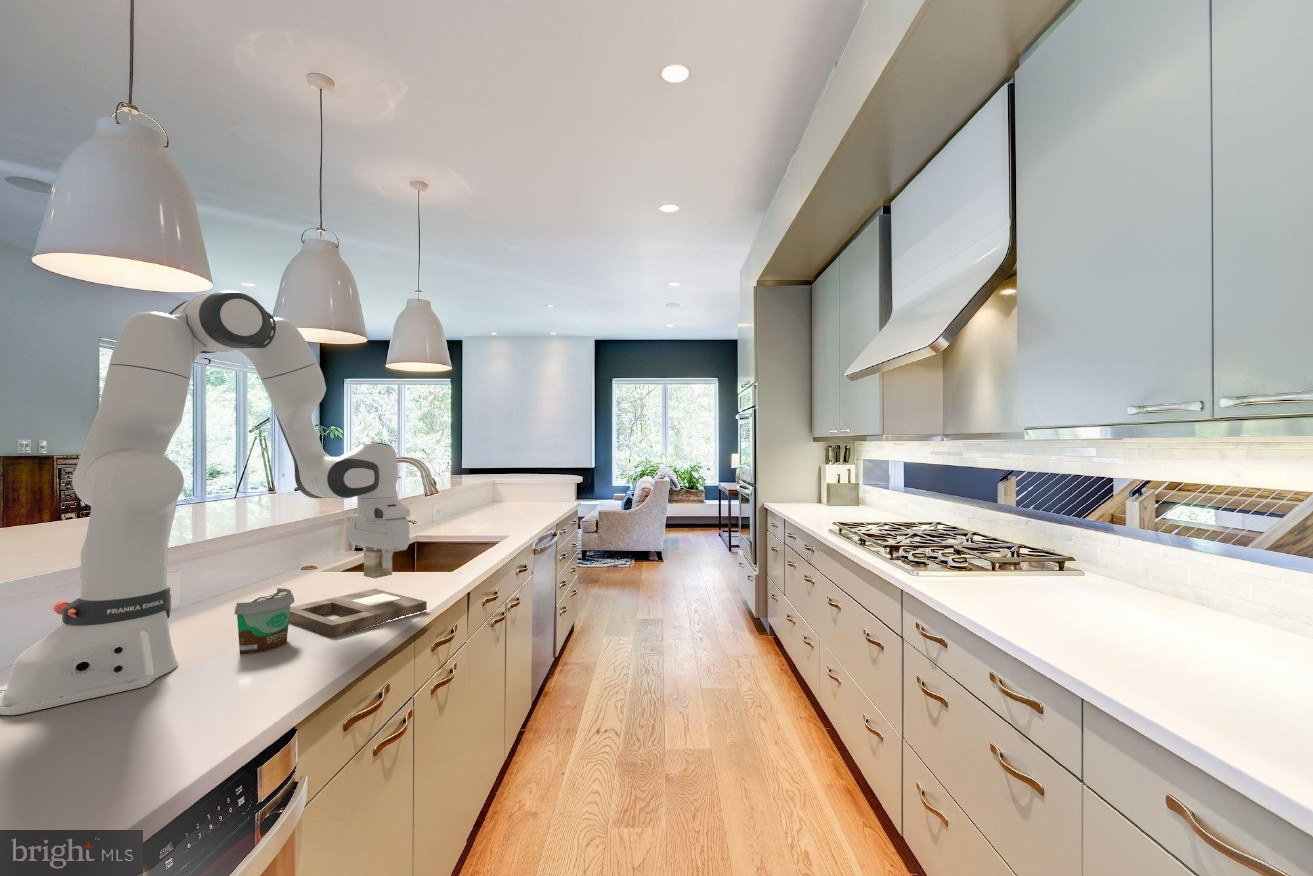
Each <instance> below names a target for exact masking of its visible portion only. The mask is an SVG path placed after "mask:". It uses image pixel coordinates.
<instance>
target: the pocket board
mask: <svg viewBox="0 0 1313 876" xmlns="http://www.w3.org/2000/svg"><path fill="white" fill-rule="evenodd" d="M427 604H428V603H427V600H422V599H418V598H414V597H412V596H406V595H402V594H398V593H394V592H393V593H392V592H390V591H386V590H383V589H379V588H372V589H367V590H364V591H363V590H362V591H358V592H353V593H349V594H344V595H339V596H335V597H330V598H324V599H322V600H321V599H320V600H316V601H312V602H307V603H302V604H298V605H293V606H290V614H289V623H291V624H294V625H296V626H298V627H302V628H305V629H307V630H311V631H312V632H316V633H319V634H321V635H323V636H324V635H325V636H327V637H330V638H336V637H340V636H342V635H343V636H344V635H347V634H350V632H351V633H353V632H352V631H354V632H358V631H361V630H360V629H362V630H365V629H367V628H366V627H369V628H371V627H370V626H373V625H376V626H378V625H377V624H380V625H382V624H381V623H383V622H386V621H388V620H393V619H395V618H399V617H401V616H406V615H409V614H414V613H417V612H422V611H424V610H427V609H428V607H427ZM328 614H333V615H334V614H335V615H338V616H340V617H337V618H334V619H331V618H328V617H325V616H324V615H328ZM343 616H344V617H343ZM373 627H374V626H373ZM364 628H365V629H364ZM346 633H347V634H346ZM339 635H340V636H339Z"/></svg>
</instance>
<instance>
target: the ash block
mask: <svg viewBox="0 0 1313 876" xmlns="http://www.w3.org/2000/svg"><path fill="white" fill-rule="evenodd" d="M382 557H383V554H382V549H377V548H374V549H373V550H368V551H364V552H363V577H365V578H371V579H379V578H383V577H387V576H393V556H392V557H391V559H390V567H388V568H381V567H380V560H382Z"/></svg>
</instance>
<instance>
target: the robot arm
mask: <svg viewBox="0 0 1313 876" xmlns="http://www.w3.org/2000/svg"><path fill="white" fill-rule="evenodd" d="M233 351H239V352H240V353H242V354H244V355H245V356H246V358H247V359H249V360H250V362H251V363H252V364H253V365H254V368H255V371H256V372H257V376H259V379H260V381H261V383H262V385H263V388H264V389H265V391H266V393H267V395H268V397H269V399H270V401H271V404H272V406H273V410H274V413H275V417H276V420H277V422H278V425H279V428H280V431H281V432H282V435H283V437H284V440H285V442H286V445H287V447H288V450H289V452H290V454H291V457H292V461H293V464H294V465H293V466H294V481H295V483H296V484H295V485H296V487H297V488H298V490H299V492H301V494H303V495H305V496H306V497H308V498H311V499H328V498H329V499H341V500H342V499H344V500H345V499H352V498H354V497H357V504H356V509H354V511H353V515H352V516H351V517H350V521H349V531H348V532H349V533H348V540H349V543H350V544H351V545H355V546H361V547H362V551H363V553H364V551H368V550H374V549H382V554H383V557H382V560H380V567H381V568H388V567H390V559H391V557H392V558H393V554H394V552H400V551H406V550H407V549H408V547H409V546H410V523H409V519H408V518H409V517H410V516H411V510H410V509H411V508H409V507H408V506H406V505H404V504H403V503H402V502H401V501H399V496H398V495H399V494H398V491H397V484H398V483H397V482H398V479H399V477H398V475H399V474H398V473H399V469H398V467H399V466H398V458H397V453H396V452H397V451H396V450H395V447H393V446H392V445H391V444H388V443H383V442H375V441H363V442H361V443H360V445H358V446H357V447H356V448H353V449H352V450H351V451H348V452H346V453H344V454H341V455H340V456H331V455H329V454H328V453H327V452H326V451H325V450H324V449H323V447H322V444H321V441H320V438H319V436H318V434H317V431H316V428H315V425H314V424H313V418H312V417H313V413H314V411H315V408H316V407H317V406H318V405H319V404H320V403H321V402H322V400H323V399H324V397H325V394H326V391H327V385H326V380H325V377H324V373H323V372H322V369H321V367H320V365H319V363H318V361H317V359H316V357H315V355H314V354H315V353H313V351H312V349H311V347H310V346H309V344H308V342H307V340H306V339H305V338H304V336H303V334H302V333H301V332H300V330H299V329H298V328H297V326H296V325H295V324H294V323H293V322H291V321H290V320H288V319H287V318H282V317H274V316H273V315H272V314H271V313H269V312H268V311H267V310H266V309H265V308H264V307H263V306H262V304H261V303H260V302H259V301H257V299H255V298H253V297H252V296H250V295H249V294H247V293H244V292H240V291H235V290H220V291H216V292H213V293H204V294H200V295H198V296H195V297H192V298H191V299H189V300H186V301H184V302H182V303H180V304H179V305H177V306H176V307H175V308H173V309H172V310H171V311H170V312H169V313H164V312H160V311H142V312H137V313H135V314H133V315H131V316H130V317H129V318H127V320H126V322H125V323H124V325H123V327H122V328H121V330H120V333H119V335H118V337H117V339H116V342H115V344H114V348H113V349H112V354H111V355H110V356H111V357H110V360H109V363H108V368H107V371H106V376H105V380H104V384H103V387H102V393H101V396H100V397H101V398H100V401H99V405H98V409H97V412H96V416H95V417H94V421H93V423H92V425H91V427H90V429H89V432H88V434H87V437H86V439H85V442H84V445H83V448H82V450H81V453H80V456H79V458H78V462H77V465H76V468H75V469H74V471H73V474H72V479H71V480H72V487H73V490H74V492H75V494H76V496H77V497H78V498H79V499H80V501H82V502H83V503H84V504H86V505H87V506H89V507H90V514H89V520H88V526H87V531H86V533H85V539H84V542H83V546H82V547H81V550H80V581H79V583H80V584H79V586H80V587H79V593H80V594H79V597H78V598H76V599H74V600H73V601H71V602H69V601H67V600H59V601H57V602H55V604H54V605H53V607H52V611H53V612H55V613H56V614H58V615H61V616H62V617H61V618H62V619H61V621H62V622H61V623H63V624H61V625H60V626H58V627H57V628H55V629H54V630H52V631H50V633H48V634H47V635H45V636H44V637H43V638H41V639H40V640H38V641H37V642H35V643H34V644H33V645H31V646H29V647H28V648H26V649H25V650H23V651H22V652H20V654H18V656H17V657H16V659H15V660H14V662H13V665H12V666H11V669H10V673H9V677H8V681H7V684H6V685H2V686H0V715H2V716H15V715H22V714H27V713H32V712H36V711H41V710H43V709H48V708H49V709H50V708H53V707H58V706H63V705H67V704H72V703H76V702H81V701H85V700H90V699H94V698H99V697H103V696H108V695H113V694H116V693H121V692H125V691H130V690H131V691H132V690H134V689H138V688H143V687H146V686H148V685H150V684H152V683H153V682H154V680H156V679H158V678H159V677H162V676H164V675H165V674H168V673H169V672H172V671H173V670H174V669H176V668H177V666H178V664H179V661H178V660H177V657H176V654H175V652H174V649H173V644H172V639H171V638H172V637H171V633H170V627H169V625H170V624H169V618H170V617H171V611H172V594H171V588H170V587H169V586H168V562H169V561H168V559H169V558H168V557H169V556H168V555H169V544H170V543H169V542H170V537H171V536H170V535H171V531H172V527H173V523H174V519H175V516H176V515H175V514H176V510H177V504H178V499H179V497H180V496H181V494H182V491H183V490H184V485H185V484H184V483H185V481H184V480H185V478H184V475H183V472H182V470H181V468H180V467H179V466H178V465H177V464H176V463H175V462H174V461H172V459H170V458H169V457H167V456H165V454H166V452H167V450H168V449H169V445H170V443H171V440H172V438H173V436H174V434H175V433H176V430H177V429H178V428H179V426H180V424H181V423H182V421H183V415H184V411H185V407H186V401H187V398H188V397H187V396H188V391H189V387H190V383H191V377H192V371H193V364H194V363H195V360H196V359H197V357H198V355H199V354H214V353H219V352H220V353H228V352H233Z"/></svg>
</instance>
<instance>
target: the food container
mask: <svg viewBox="0 0 1313 876" xmlns="http://www.w3.org/2000/svg"><path fill="white" fill-rule="evenodd" d="M294 603H295V597H294V594H293V592H292V590H291V589H289V588H284V587H282V588H281V587H280V588H279V587H277V588H276V592H275V593H272V594H270V595H267V596H260V597H257V598H255V599H254V600H252V601H249V602H246V601H245V602H236V606H235V607H234V608H235V609H234V615H236V620H237V632H238V633H237V634H238V647H239V649H238V650H239V655H250V653H251V654H258V653H262V652H263V653H264V652H267V651H272V650H275V649H277V648H281V647H282V646H284V645H286V643H287V641H288V634H289V633H288V632H289V623H290V622H289V614H290V607H291V605H293V604H294ZM257 652H258V653H257Z"/></svg>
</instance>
